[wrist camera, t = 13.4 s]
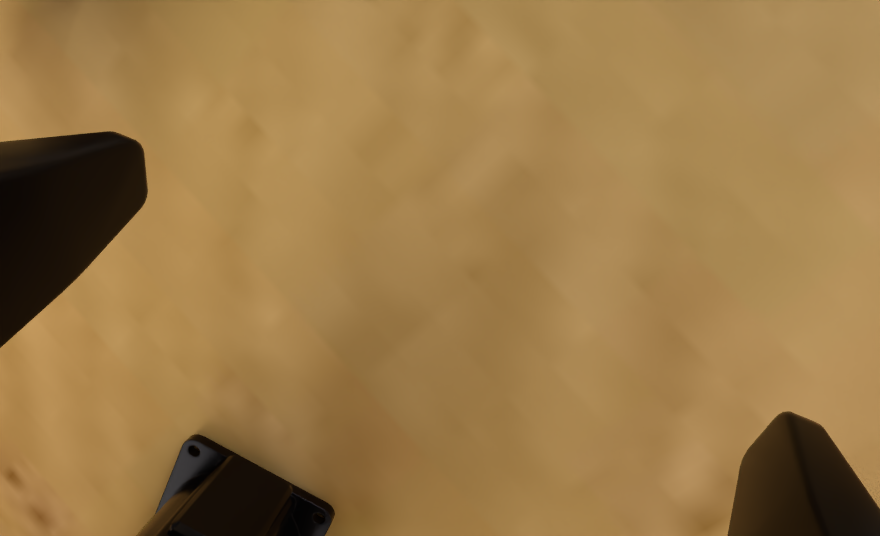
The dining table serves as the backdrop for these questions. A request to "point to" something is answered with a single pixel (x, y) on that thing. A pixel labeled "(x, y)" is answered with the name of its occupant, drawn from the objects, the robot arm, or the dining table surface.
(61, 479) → the dining table surface
